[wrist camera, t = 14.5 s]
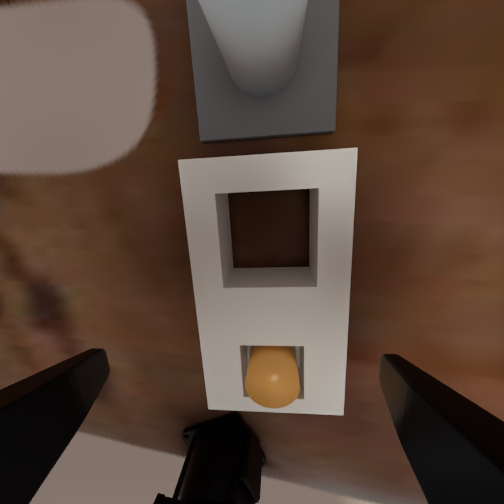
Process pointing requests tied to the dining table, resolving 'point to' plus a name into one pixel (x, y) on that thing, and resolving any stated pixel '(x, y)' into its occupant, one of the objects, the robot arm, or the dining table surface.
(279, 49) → the cylinder
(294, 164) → the white slotted block
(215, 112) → the mat
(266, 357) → the plunger
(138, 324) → the dining table surface
